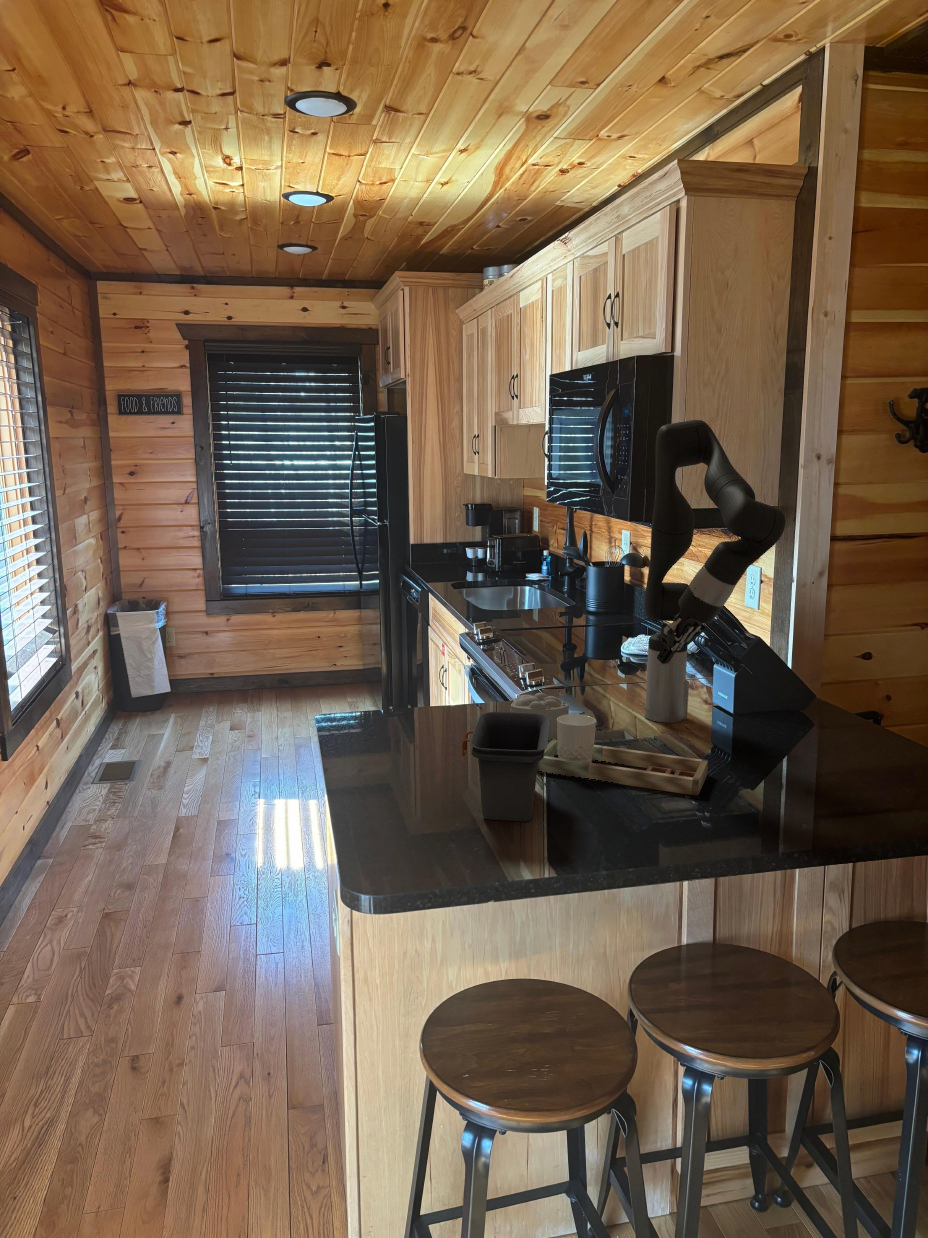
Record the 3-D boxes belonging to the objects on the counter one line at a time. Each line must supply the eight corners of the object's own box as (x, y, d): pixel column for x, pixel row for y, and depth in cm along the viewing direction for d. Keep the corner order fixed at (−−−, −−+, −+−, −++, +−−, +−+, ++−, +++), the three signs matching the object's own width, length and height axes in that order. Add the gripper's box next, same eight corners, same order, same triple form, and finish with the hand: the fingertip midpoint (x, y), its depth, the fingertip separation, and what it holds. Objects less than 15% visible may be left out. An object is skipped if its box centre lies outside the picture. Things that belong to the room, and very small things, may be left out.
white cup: (584, 776, 178) (586, 727, 176) (548, 768, 182) (550, 721, 180) (600, 764, 184) (602, 718, 182) (565, 757, 188) (567, 712, 186)
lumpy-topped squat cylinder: (514, 725, 211) (515, 689, 209) (569, 728, 208) (570, 693, 207) (508, 738, 201) (508, 701, 199) (566, 742, 198) (567, 705, 197)
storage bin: (545, 830, 152) (547, 750, 149) (454, 825, 153) (455, 745, 151) (548, 785, 172) (550, 713, 170) (468, 781, 174) (469, 710, 172)
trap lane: (707, 774, 179) (708, 760, 178) (697, 795, 168) (698, 780, 167) (552, 752, 191) (552, 739, 191) (534, 770, 180) (534, 756, 180)
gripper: (712, 579, 176) (668, 646, 185) (674, 582, 167) (629, 651, 176) (740, 603, 172) (693, 670, 181) (702, 607, 163) (654, 677, 172)
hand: (661, 661), depth 178 cm, fingers closed
